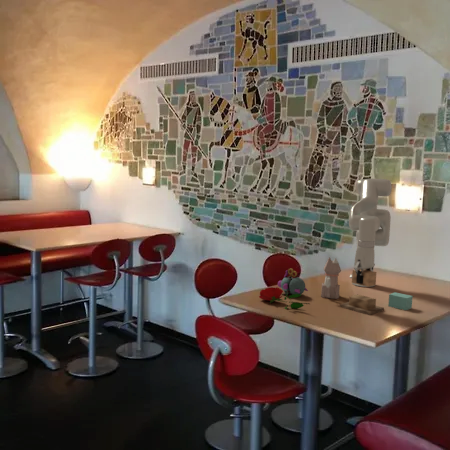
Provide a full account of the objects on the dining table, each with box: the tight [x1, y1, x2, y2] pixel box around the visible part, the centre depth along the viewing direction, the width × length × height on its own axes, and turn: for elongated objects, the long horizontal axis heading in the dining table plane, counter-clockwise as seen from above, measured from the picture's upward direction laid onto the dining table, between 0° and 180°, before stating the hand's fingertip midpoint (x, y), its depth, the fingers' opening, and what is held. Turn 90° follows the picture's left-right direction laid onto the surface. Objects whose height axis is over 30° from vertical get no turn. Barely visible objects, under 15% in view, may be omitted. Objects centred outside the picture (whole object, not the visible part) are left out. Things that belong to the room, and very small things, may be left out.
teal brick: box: [387, 292, 414, 311], centre depth 265 cm, size 9×6×6 cm, turn 47°
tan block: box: [351, 269, 377, 288], centre depth 259 cm, size 9×6×6 cm, turn 43°
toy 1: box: [277, 268, 309, 295], centre depth 281 cm, size 11×14×15 cm
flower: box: [258, 286, 311, 310], centre depth 260 cm, size 9×9×30 cm
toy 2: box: [320, 257, 342, 300], centre depth 277 cm, size 9×18×20 cm, turn 161°
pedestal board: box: [340, 294, 385, 316], centre depth 261 cm, size 16×12×5 cm
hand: (363, 281), depth 259 cm, fingers closed on tan block, 6 cm apart
